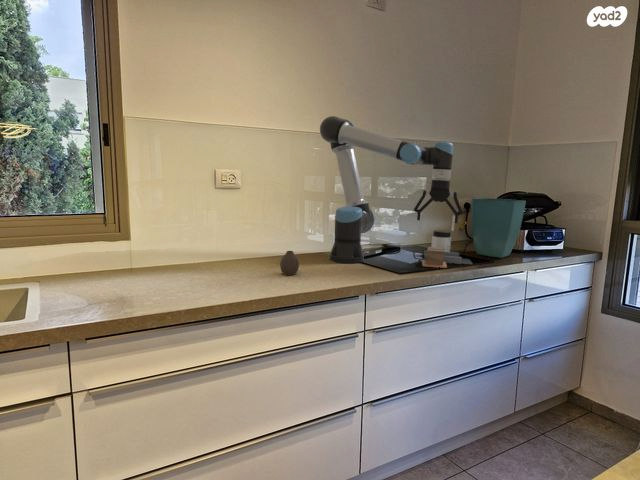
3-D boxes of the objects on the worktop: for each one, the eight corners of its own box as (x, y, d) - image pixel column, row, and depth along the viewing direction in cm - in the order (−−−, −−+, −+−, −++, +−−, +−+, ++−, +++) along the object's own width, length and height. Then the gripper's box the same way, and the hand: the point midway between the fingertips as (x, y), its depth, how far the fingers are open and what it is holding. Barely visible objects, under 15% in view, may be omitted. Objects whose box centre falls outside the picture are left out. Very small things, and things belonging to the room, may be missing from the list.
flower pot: (520, 255, 212) (526, 200, 208) (507, 260, 197) (514, 201, 193) (481, 250, 225) (486, 197, 221) (466, 254, 210) (471, 198, 206)
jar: (443, 257, 199) (445, 232, 198) (428, 254, 205) (429, 230, 203) (452, 255, 206) (454, 231, 204) (437, 253, 211) (439, 229, 210)
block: (426, 260, 188) (427, 247, 187) (443, 261, 186) (444, 248, 185) (426, 263, 179) (427, 250, 178) (442, 265, 177) (444, 251, 176)
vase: (277, 272, 157) (278, 250, 155) (294, 271, 159) (295, 249, 158) (283, 277, 150) (283, 253, 149) (301, 275, 153) (301, 252, 152)
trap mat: (462, 264, 185) (462, 263, 185) (459, 259, 197) (459, 258, 197) (472, 264, 184) (472, 264, 184) (469, 259, 196) (469, 259, 196)
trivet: (422, 266, 178) (422, 264, 178) (422, 261, 188) (422, 260, 187) (446, 268, 176) (447, 266, 176) (445, 263, 185) (445, 261, 185)
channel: (424, 261, 189) (424, 254, 188) (423, 256, 200) (424, 250, 200) (461, 264, 185) (461, 257, 185) (458, 259, 197) (459, 252, 197)
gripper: (410, 178, 175) (406, 228, 178) (473, 181, 170) (467, 232, 173) (410, 178, 182) (406, 226, 186) (470, 181, 177) (465, 230, 180)
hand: (436, 229), depth 179 cm, fingers open, 13 cm apart
